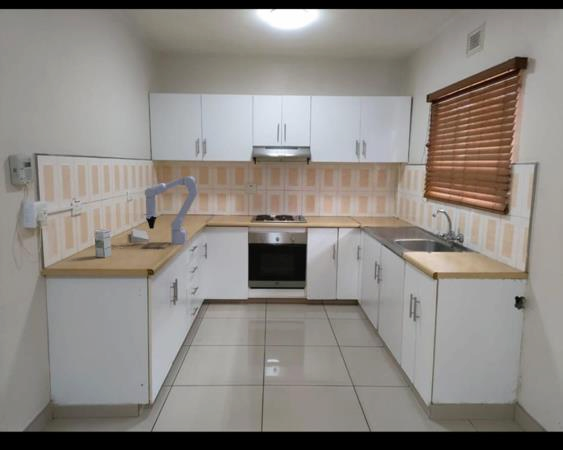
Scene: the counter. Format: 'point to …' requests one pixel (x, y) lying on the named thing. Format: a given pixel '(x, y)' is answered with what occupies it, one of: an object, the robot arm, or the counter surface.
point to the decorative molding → (139, 236)
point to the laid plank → (162, 245)
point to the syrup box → (102, 243)
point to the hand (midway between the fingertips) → (151, 228)
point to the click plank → (150, 245)
